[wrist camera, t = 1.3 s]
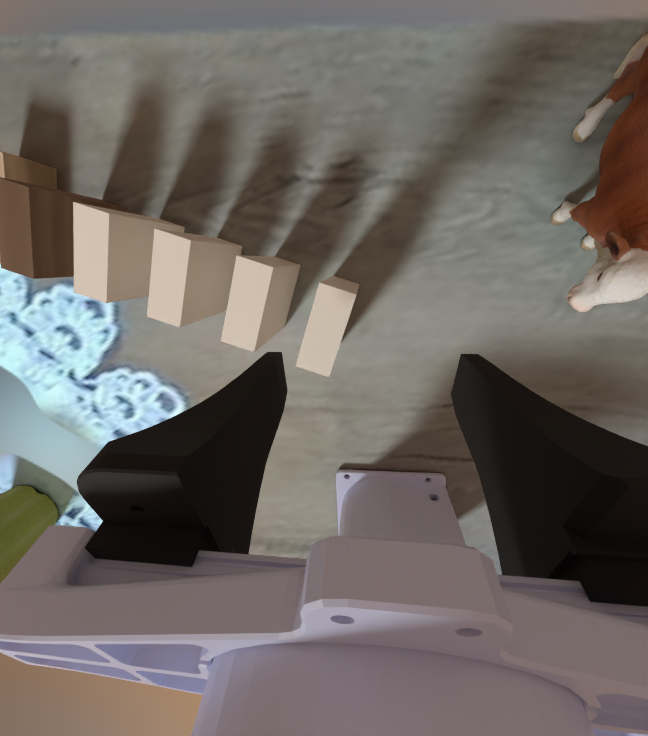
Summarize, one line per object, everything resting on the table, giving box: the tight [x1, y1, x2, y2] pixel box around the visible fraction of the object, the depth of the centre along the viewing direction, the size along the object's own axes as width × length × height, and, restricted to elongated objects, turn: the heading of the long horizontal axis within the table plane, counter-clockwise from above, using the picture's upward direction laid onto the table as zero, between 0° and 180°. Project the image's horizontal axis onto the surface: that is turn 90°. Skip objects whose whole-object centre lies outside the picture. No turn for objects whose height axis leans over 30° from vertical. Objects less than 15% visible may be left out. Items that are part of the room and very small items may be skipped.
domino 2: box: [73, 202, 185, 303], centre depth 20 cm, size 2×5×7 cm, turn 163°
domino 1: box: [0, 177, 127, 279], centre depth 20 cm, size 2×5×7 cm, turn 163°
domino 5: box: [296, 276, 359, 377], centre depth 20 cm, size 2×5×7 cm, turn 163°
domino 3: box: [147, 228, 242, 327], centre depth 20 cm, size 2×5×7 cm, turn 164°
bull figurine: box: [551, 32, 648, 312], centre depth 15 cm, size 4×13×8 cm, turn 171°
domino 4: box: [221, 255, 301, 352], centre depth 20 cm, size 2×5×7 cm, turn 163°
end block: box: [0, 151, 57, 263], centre depth 22 cm, size 3×7×4 cm, turn 163°
